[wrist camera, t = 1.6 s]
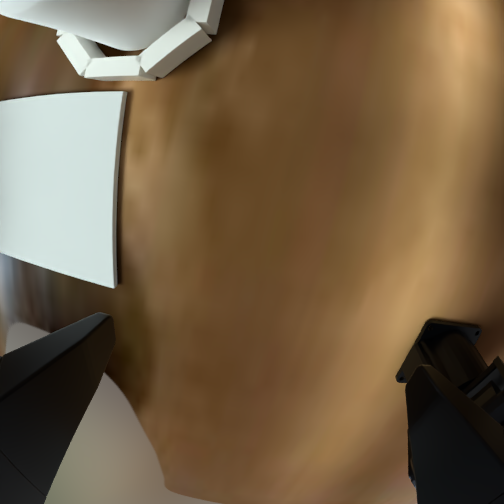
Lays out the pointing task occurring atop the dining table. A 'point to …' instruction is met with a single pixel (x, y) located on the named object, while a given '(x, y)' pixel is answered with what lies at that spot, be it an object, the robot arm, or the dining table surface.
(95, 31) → the can
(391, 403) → the dining table surface
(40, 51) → the dining table surface
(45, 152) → the mat
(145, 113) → the dining table surface
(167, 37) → the ring
